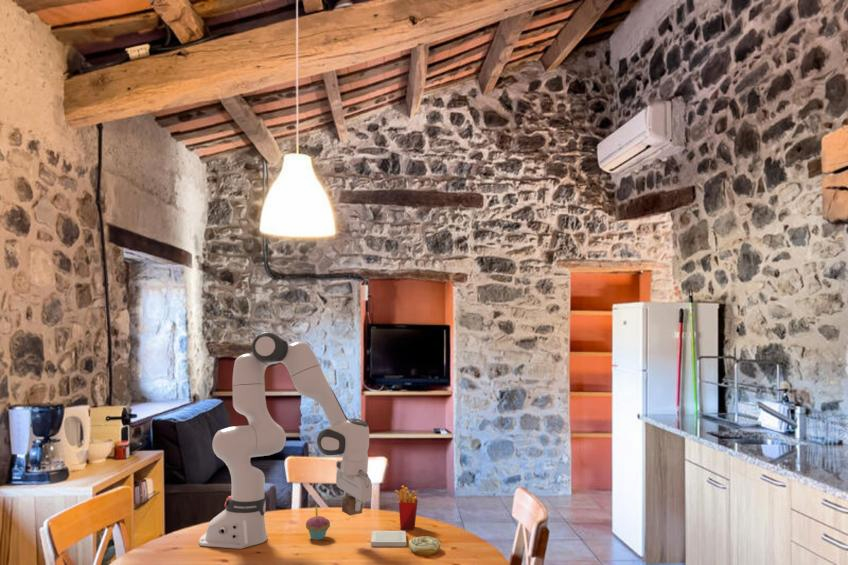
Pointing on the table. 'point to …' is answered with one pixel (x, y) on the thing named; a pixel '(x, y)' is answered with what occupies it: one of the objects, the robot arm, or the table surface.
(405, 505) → the french fries
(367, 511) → the table surface
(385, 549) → the table surface
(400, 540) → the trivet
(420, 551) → the decorated donut
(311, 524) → the cupcake
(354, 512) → the walnut cube
